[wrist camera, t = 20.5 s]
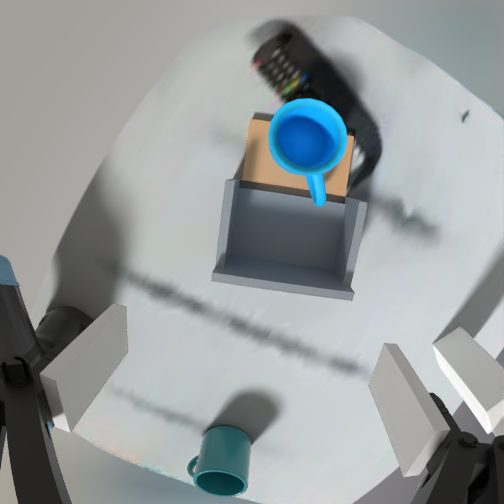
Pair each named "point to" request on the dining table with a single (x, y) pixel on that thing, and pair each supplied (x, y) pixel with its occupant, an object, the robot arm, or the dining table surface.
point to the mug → (308, 142)
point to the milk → (474, 377)
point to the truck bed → (288, 242)
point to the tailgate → (267, 171)
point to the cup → (222, 462)
